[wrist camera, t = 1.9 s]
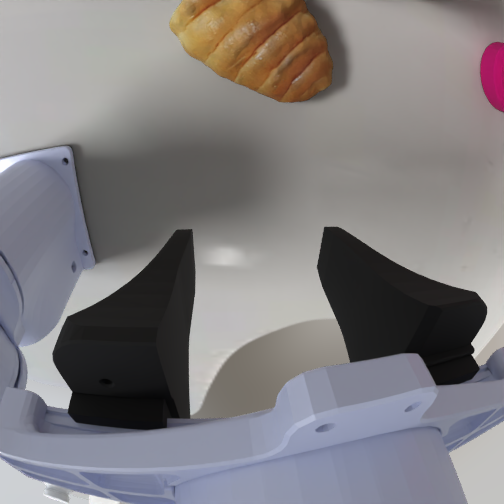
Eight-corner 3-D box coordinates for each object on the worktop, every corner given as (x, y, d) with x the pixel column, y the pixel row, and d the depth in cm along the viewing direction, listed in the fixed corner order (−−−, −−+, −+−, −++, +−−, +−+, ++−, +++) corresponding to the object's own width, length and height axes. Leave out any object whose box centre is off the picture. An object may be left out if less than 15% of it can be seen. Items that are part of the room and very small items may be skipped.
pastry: (349, 58, 16) (377, 59, 13) (274, 126, 18) (287, 141, 15) (239, -42, 12) (245, -64, 9) (159, 31, 14) (145, 24, 11)
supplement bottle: (88, 447, 43) (82, 507, 32) (66, 447, 44) (58, 502, 33) (63, 432, 39) (53, 496, 29) (42, 432, 40) (31, 490, 29)
